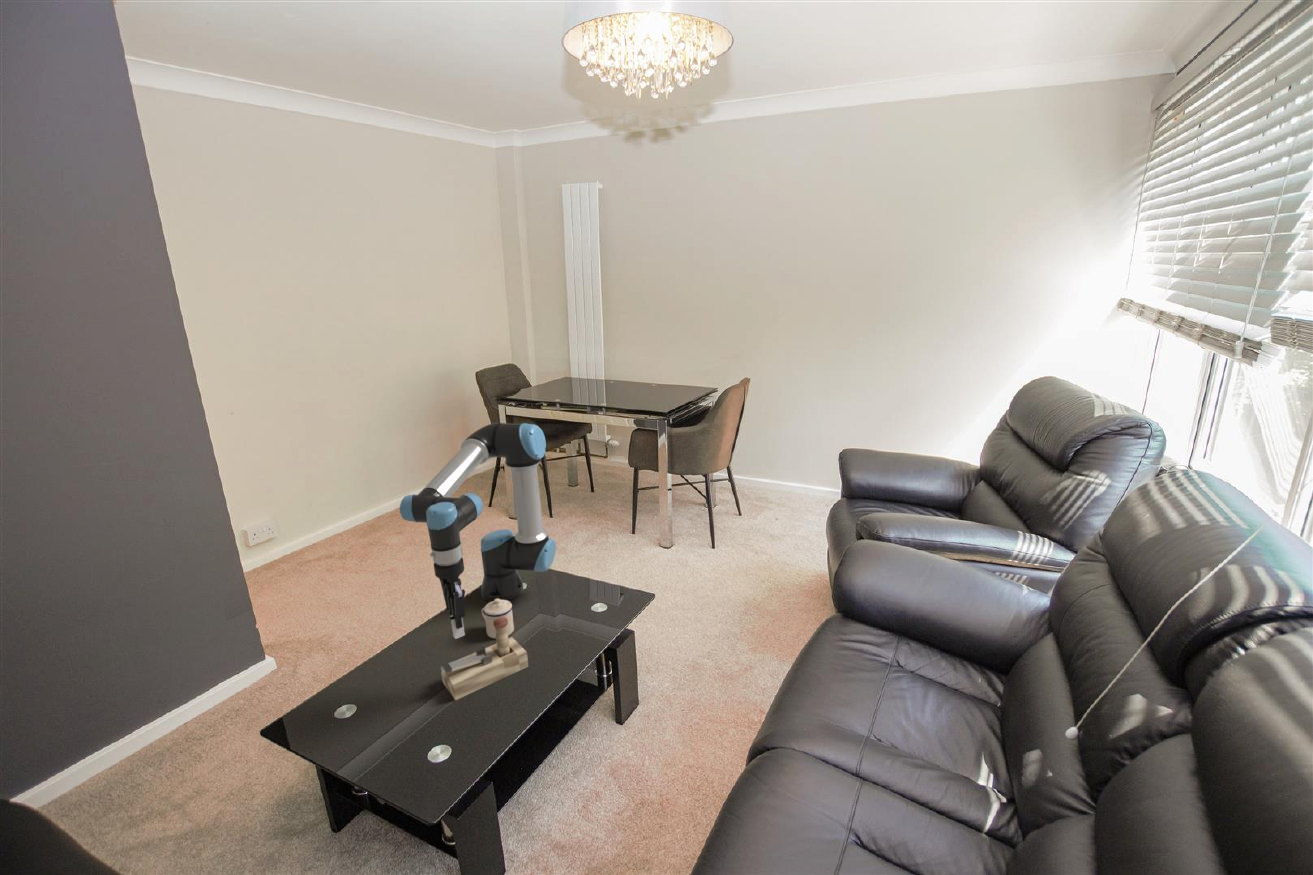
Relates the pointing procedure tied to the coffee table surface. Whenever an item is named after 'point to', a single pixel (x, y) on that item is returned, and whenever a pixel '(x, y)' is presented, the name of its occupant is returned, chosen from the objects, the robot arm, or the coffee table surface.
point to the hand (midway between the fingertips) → (459, 635)
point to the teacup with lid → (497, 615)
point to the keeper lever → (463, 663)
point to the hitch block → (485, 670)
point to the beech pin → (502, 636)
